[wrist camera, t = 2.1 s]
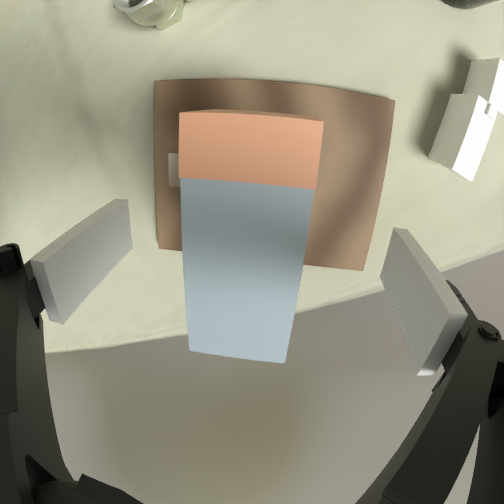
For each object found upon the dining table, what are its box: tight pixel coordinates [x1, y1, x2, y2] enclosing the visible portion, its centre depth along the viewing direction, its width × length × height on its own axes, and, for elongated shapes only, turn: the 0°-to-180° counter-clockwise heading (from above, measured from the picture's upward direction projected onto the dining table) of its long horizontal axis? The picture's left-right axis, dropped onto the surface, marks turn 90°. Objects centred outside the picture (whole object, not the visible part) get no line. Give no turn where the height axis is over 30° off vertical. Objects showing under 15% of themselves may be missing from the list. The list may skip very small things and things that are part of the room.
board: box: [154, 79, 395, 271], centre depth 22 cm, size 20×16×9 cm
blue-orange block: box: [179, 109, 324, 363], centre depth 15 cm, size 5×11×6 cm, turn 176°
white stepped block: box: [428, 58, 504, 182], centre depth 19 cm, size 15×11×6 cm
